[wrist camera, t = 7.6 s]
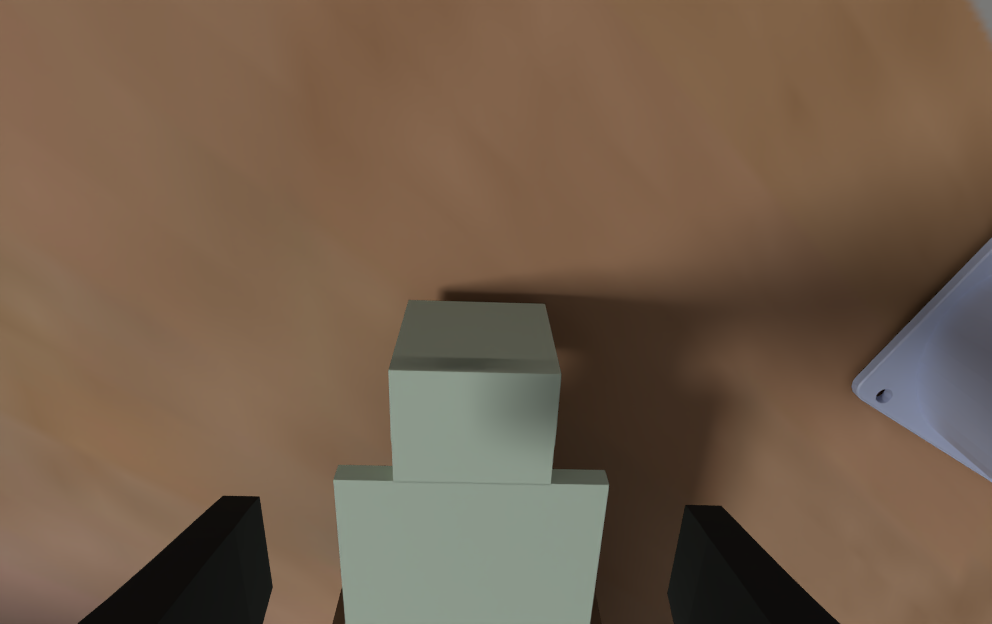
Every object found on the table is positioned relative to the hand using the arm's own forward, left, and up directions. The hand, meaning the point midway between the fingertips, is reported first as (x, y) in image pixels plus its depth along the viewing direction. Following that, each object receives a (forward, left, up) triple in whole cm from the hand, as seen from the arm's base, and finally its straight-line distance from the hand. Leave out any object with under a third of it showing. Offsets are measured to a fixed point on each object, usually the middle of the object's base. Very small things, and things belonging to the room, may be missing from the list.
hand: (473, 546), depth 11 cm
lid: (-4, +6, -9) cm, 11 cm away
